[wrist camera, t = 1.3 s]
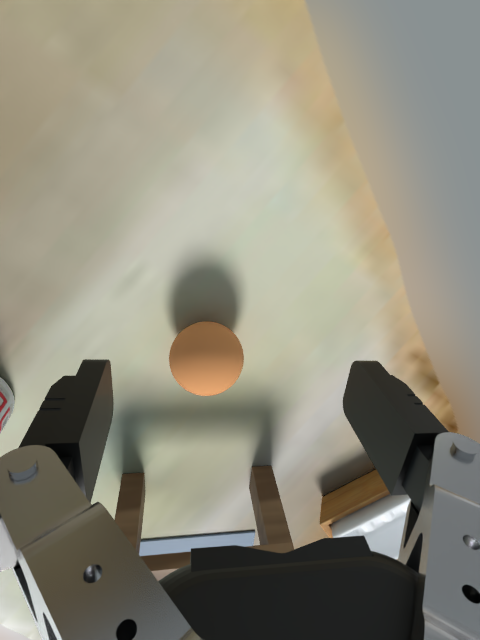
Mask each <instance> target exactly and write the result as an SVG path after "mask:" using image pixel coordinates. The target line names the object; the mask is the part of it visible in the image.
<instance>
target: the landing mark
mask: <svg viewBox="0 0 480 640" xmlns="http://www.w3.org/2000/svg"><path fill="white" fill-rule="evenodd" d="M254 536H255V531H246V532H234V533H222V534H210V535H198V536H186V537H174V538H162V539H150V540H141V542H140V552H139V555H140V556H146V555H158V554H169V553H180V552H191V548H204V547H217V546H231V545H238V546H243V547H246V546H253V543H254Z"/></svg>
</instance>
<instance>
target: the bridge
mask: <svg viewBox="0 0 480 640" xmlns="http://www.w3.org/2000/svg"><path fill="white" fill-rule="evenodd" d="M249 489H250V494H251V499H252V504H253V510H254V515H255V520H256V525H257V530H258V535H259V541H260V545H258V546H246V547H249V548H254V549H260V550H265V551H271V552H276V553H287V552H290V551H292V550H294V547H293V543H292V540H291V536H290V532H289V529H288V525H287V521H286V518H285V514H284V510H283V506H282V503H281V499H280V495H279V492H278V488H277V484H276V481H275V477H274V473H273V470H272V466H256V467H252V470H251V478H250V486H249ZM144 502H145V479H144V473H130V474H122V480H121V486H120V491H119V497H118V503H117V509H116V514H115V520H114V521H115V522H116V523H117V525H118V526H119V528H120V529H121V530H122V532H123V533H124V535H125V536H126V537H127V539H128V540H129V542H130V543H131V544H132V546H133V547H134V549H135V550H136V551H137V553H138V554H139V552H140V542H141V532H142V522H143V512H144ZM190 556H191V552H180V553H169V554H158V555H146V556H140V557H141V558H142V560H143V561H144V562H145V564H146V565H147V567H148V568H149V569H150V571H151V572H152V574H153V575H154V576H155V578H156V579H157V581H159V580H161V579H162V578H164V577H165V576H167V575H168V574H170V573H171V572H173V571H175V570H177V569H179V568H181V567H184V566H186V565H189V564H190Z"/></svg>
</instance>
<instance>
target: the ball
mask: <svg viewBox="0 0 480 640" xmlns="http://www.w3.org/2000/svg"><path fill="white" fill-rule="evenodd" d="M243 360H244V356H243V349H242V346H241V344H240V341H239V340H238V338H237V337H236V335H235V334H234V333H233V332H232V331H231V330H230V329H228V328H227V327H225V326H224V325H221V324H219V323H216V322H208V321H206V322H198V323H195V324H192V325H190V326H188V327H186V328H185V329H184V330H182V331H181V332H180V333H179V334H178V336H177V337H176V338H175V340H174V342H173V344H172V346H171V350H170V355H169V362H170V368H171V372H172V374H173V376H174V378H175V379H176V381H177V382H178V383H179V385H181V386H182V387H183V388H184V389H185V390H187V391H189V392H191V393H193V394H196V395H201V396H211V395H216V394H219V393H222V392H223V391H225V390H227V389H228V388H230V387H231V386H232V385H233V384H234V383H235V382H236V380H237V379H238V377H239V375H240V373H241V370H242V367H243Z"/></svg>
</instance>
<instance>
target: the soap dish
mask: <svg viewBox="0 0 480 640" xmlns="http://www.w3.org/2000/svg"><path fill="white" fill-rule="evenodd" d="M410 500H411V499H410V498H409V496H408V495H394V496H391V494H390V492H389V491H388V489H387V487H386V485H385V484H384V482H383V480H382V478H381V477H380V475H379V473H378V471H377V470H376V469H375V470H374V471H372V472H370V473H368V474H366V475H364V476H362V477H360V478H358V479H356V480H354V481H352V482H350V483H348V484H347V485H345V486H343V487H341V488H339V489H337V490H335V491H333V492H331V493H328V494H326V495H325V496H324V497H323V498H322V503H321V514H320V525H321V527H322V528H323V530H324V531H325V532H326V534H327V535H328V536H329V537H330V538H336V537H350V536H363V535H364V537H365V539H366V541H367V543H368V545H369V548H370V550H371V551H374V552H378V553H381V554H384V555H387V556H389V557H391V558H394V559H398V557H399V551H400V546H401V540H402V535H403V529H404V523H405V518H406V512H407V508H408V505H409V502H410Z"/></svg>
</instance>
